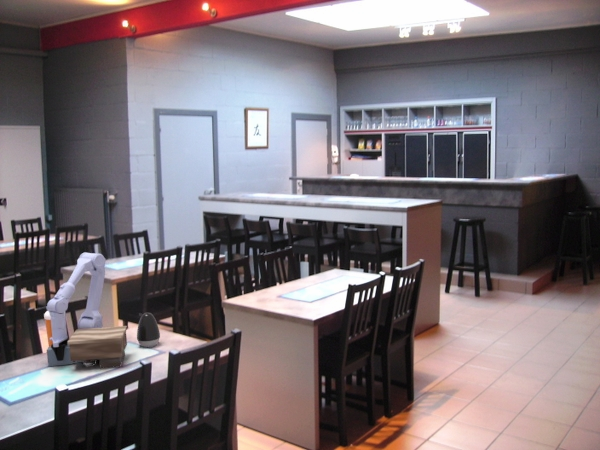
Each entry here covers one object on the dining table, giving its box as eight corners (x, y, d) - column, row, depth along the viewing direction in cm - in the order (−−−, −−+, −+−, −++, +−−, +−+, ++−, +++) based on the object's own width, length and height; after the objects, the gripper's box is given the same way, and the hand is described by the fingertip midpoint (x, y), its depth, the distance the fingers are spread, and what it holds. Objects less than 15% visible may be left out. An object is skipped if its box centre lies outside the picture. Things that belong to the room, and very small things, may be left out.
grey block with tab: (50, 362, 262) (48, 346, 261) (102, 357, 266) (100, 342, 265) (48, 366, 259) (46, 350, 258) (100, 361, 262) (99, 345, 261)
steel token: (84, 362, 263) (84, 359, 263) (96, 361, 263) (96, 358, 263) (82, 366, 258) (81, 363, 258) (94, 365, 258) (94, 362, 258)
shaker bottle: (48, 355, 273) (44, 311, 270) (46, 350, 281) (42, 306, 278) (69, 351, 277) (66, 308, 274) (67, 346, 285) (63, 303, 282)
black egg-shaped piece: (150, 340, 289) (147, 308, 287) (165, 344, 283) (163, 311, 281) (132, 346, 281) (130, 313, 279) (147, 350, 275) (145, 317, 273)
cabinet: (78, 358, 268) (76, 329, 267) (128, 354, 271) (126, 325, 269) (70, 372, 251) (67, 341, 250) (123, 367, 254) (121, 337, 253)
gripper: (53, 322, 266) (55, 353, 268) (44, 332, 252) (47, 365, 253) (70, 321, 267) (73, 352, 269) (62, 331, 253) (65, 363, 254)
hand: (61, 358), depth 261 cm, fingers closed on grey block with tab, 4 cm apart
